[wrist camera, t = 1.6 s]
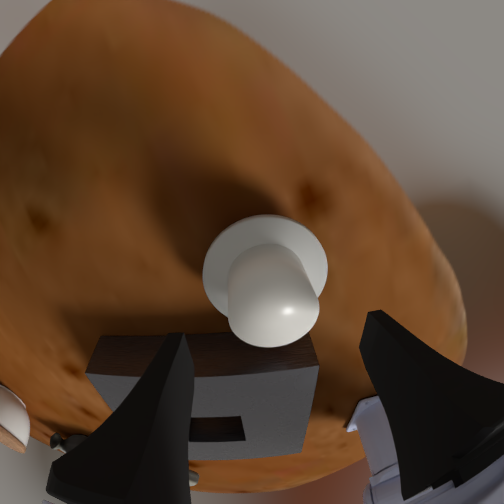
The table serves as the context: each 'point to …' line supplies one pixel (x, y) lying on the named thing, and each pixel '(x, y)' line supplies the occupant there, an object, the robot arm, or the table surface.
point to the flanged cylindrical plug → (266, 278)
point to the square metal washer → (224, 390)
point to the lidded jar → (13, 421)
